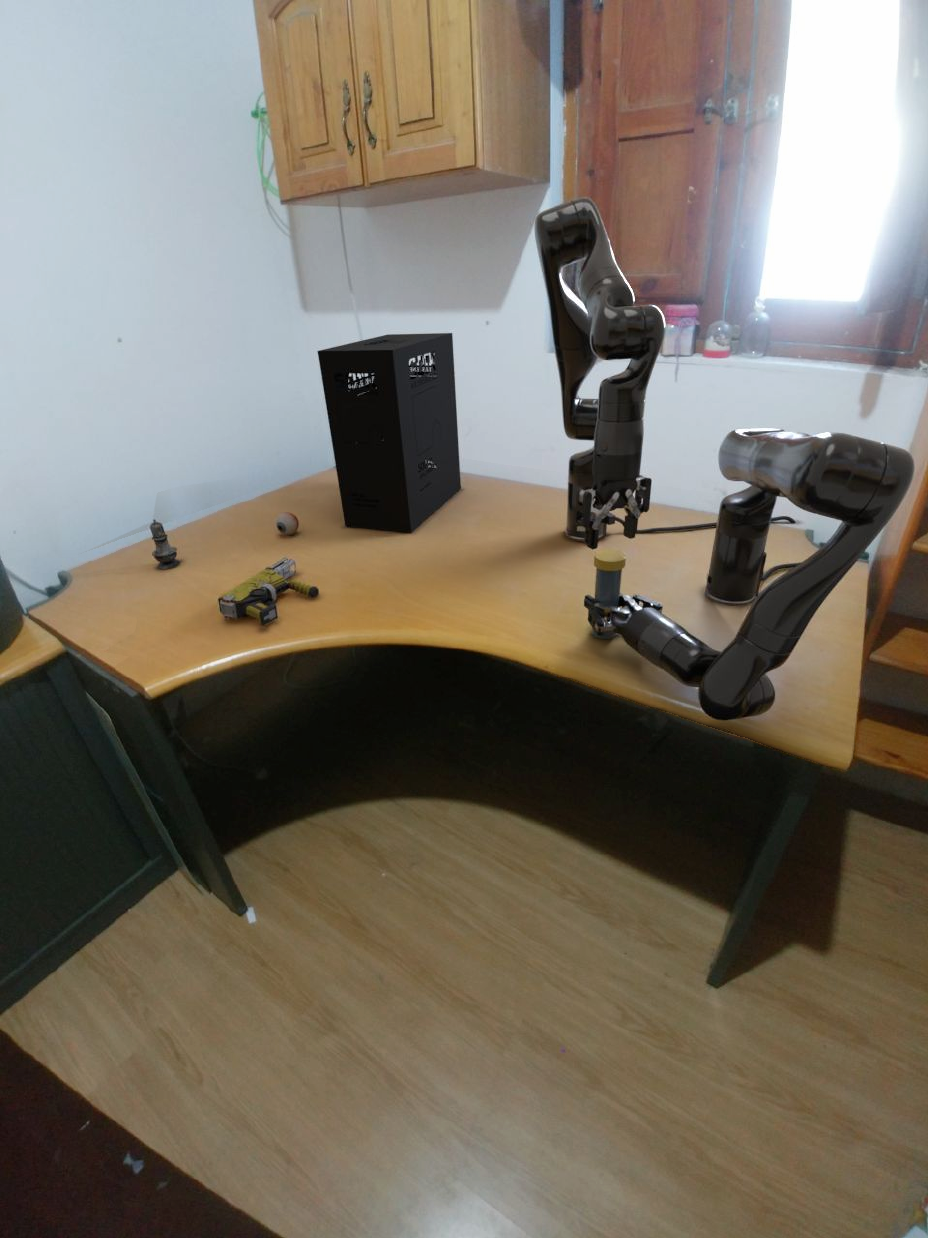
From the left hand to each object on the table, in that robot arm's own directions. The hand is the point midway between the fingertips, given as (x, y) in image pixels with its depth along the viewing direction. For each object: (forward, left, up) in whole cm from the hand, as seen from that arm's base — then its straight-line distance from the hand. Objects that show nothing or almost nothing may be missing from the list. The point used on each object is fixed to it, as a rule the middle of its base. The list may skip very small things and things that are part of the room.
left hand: (610, 542), depth 104 cm
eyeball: (+47, -81, -18) cm, 96 cm away
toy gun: (+54, -43, -18) cm, 71 cm away
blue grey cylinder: (0, 0, -18) cm, 18 cm away
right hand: (0, -3, -12) cm, 12 cm away
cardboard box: (+12, -87, -18) cm, 89 cm away
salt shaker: (+78, -76, -18) cm, 110 cm away
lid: (0, 0, -3) cm, 3 cm away
